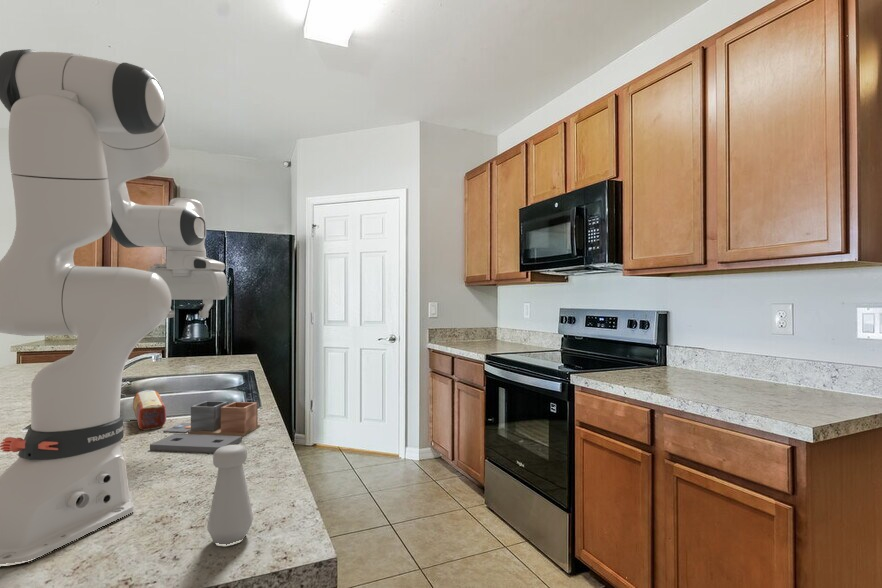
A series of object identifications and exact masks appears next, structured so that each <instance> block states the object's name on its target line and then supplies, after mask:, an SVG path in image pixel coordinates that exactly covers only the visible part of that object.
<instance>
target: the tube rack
mask: <svg viewBox="0 0 882 588" xmlns="http://www.w3.org/2000/svg"><path fill="white" fill-rule="evenodd" d="M258 409H259V408H258V401H256V402H254V401H253V402H252V401H250V402H249V401H234V402H232V403H229V401H220V400H218V401H216V400H206V401H203V402H200V403H197V404H194V405H191V406H190V423H191V431H189V432H187V434H198V435H224V436H242V437H244V436H247V435H248V434H250V433H252V432H253V431H255V430H257V429H259V428H260V426H261V425H260V424H258V422H259V419H258V417H259V416H258V415H259V414H258V413H259V411H258ZM258 427H259V428H258ZM251 431H252V432H251Z"/></svg>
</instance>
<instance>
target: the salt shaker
mask: <svg viewBox="0 0 882 588" xmlns="http://www.w3.org/2000/svg"><path fill="white" fill-rule="evenodd" d="M247 458H248V451H247V448H246V447H244V446H243V445H242V444H236V445H227V446H223V447H221V448H218V449H217V450H216V451H215V453H213V456H212V463H213V464H212V465H213V466H214V467H215V468H217V475H216V480H215V486H214V491H213V496H212V500H211V505H210V510H209V517H208V521H207V522H208V523H207V525H206V526H207V533H209V535H210V536H211V540H212V542H213V544H214V543H219V544H226V545H227V544H230V543H233V542H236V541H239V540H242V539H243V538H244V537H245V536H246V534H247V535H248V534H249V530H250V528H251V526H252V523H253V520H254V515H253V510H252V505H251V500H250V495H249V491H248V490H249V489H248V485H247V480H246V476H245V471H244V466H243V465H244V464H245V462H246V461H247ZM246 537H247V536H246ZM246 537H245V538H246ZM245 538H244V539H245Z"/></svg>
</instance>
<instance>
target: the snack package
mask: <svg viewBox="0 0 882 588" xmlns="http://www.w3.org/2000/svg"><path fill="white" fill-rule="evenodd" d="M132 401H133V402H132V409H133V412H134V415H135V419H136V420H137V425H138V428H139V429H140V430H141V431H148V430H147V429H149V430H154V428H155V429H158V428H161V427H163V426H164V425H165V424H166V422H167V408H166V405H165V404H164V402H163V400H162V397H161V396H160V393H159V392H158V391H156V390H151V389H150V390H149V389H147V390H143V391H139V392H137V393H136V394H135V395H134V397H133V400H132Z"/></svg>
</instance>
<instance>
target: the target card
mask: <svg viewBox="0 0 882 588" xmlns="http://www.w3.org/2000/svg"><path fill="white" fill-rule="evenodd" d="M189 431H191V422H182V423H179V424H177V425H174V426H171V427H169V428H167V429H164V430H163V432H164V433H175V434H188V432H189Z"/></svg>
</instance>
